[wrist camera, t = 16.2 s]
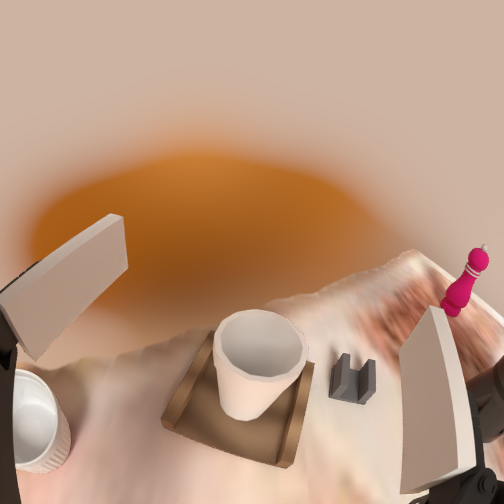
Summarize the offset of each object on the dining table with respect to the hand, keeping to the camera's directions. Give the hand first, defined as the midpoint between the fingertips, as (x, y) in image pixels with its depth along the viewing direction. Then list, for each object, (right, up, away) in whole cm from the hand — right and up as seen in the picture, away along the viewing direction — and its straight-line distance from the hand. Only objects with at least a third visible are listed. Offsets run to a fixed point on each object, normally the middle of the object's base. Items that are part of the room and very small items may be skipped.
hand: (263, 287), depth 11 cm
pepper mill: (+51, -14, +48) cm, 71 cm away
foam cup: (-2, -18, +23) cm, 29 cm away
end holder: (-2, -19, +23) cm, 30 cm away
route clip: (+14, -19, +27) cm, 36 cm away
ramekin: (-28, -22, +10) cm, 37 cm away
